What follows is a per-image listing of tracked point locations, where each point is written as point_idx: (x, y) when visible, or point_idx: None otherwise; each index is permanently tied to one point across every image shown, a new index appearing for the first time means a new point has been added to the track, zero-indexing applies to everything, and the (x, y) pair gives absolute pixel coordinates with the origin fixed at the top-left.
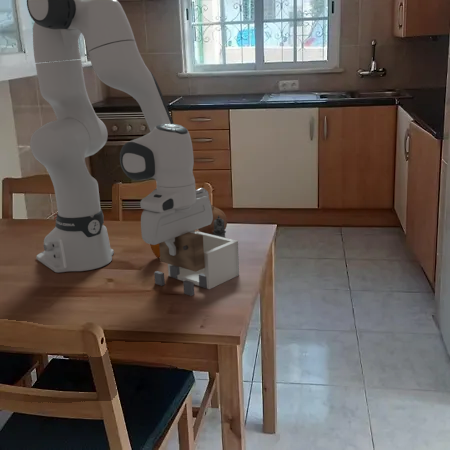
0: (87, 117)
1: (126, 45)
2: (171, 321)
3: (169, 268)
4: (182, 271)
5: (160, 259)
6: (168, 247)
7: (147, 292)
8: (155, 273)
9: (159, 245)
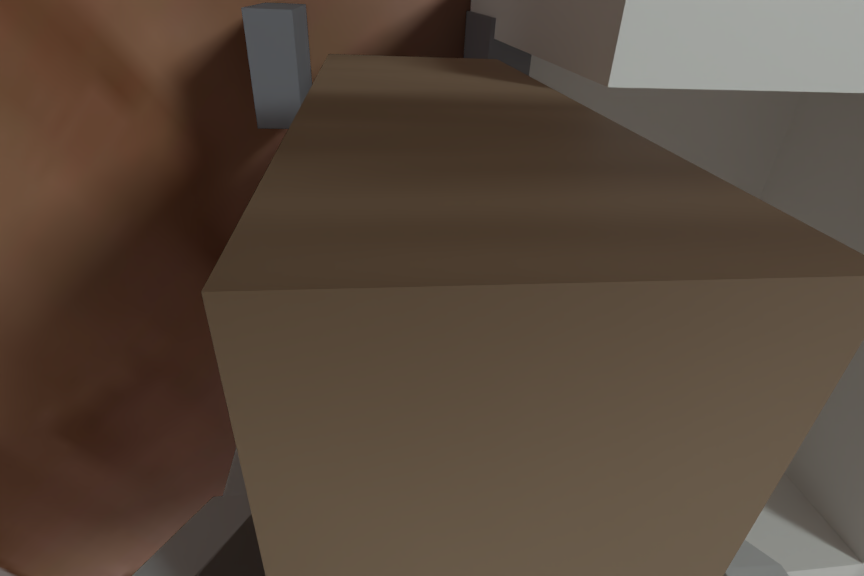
0: None
1: None
2: (27, 494)
3: (487, 4)
4: (564, 85)
5: (327, 57)
6: (210, 500)
7: (97, 101)
8: (247, 29)
9: (307, 105)
